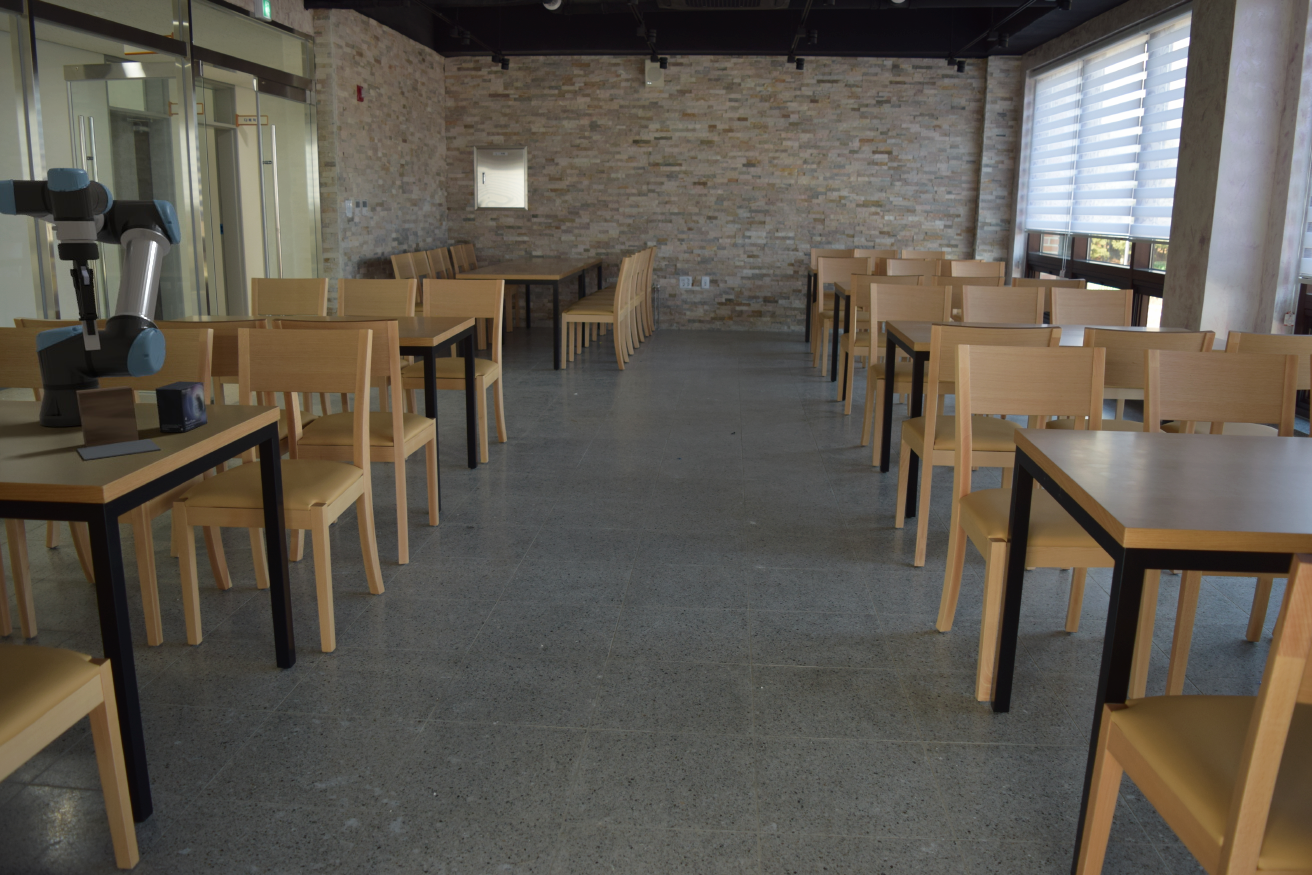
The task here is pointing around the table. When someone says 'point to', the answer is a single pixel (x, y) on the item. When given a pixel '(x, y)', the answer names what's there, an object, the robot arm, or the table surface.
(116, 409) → the brown rectangular box
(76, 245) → the robot arm
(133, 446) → the mat
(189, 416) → the small box
